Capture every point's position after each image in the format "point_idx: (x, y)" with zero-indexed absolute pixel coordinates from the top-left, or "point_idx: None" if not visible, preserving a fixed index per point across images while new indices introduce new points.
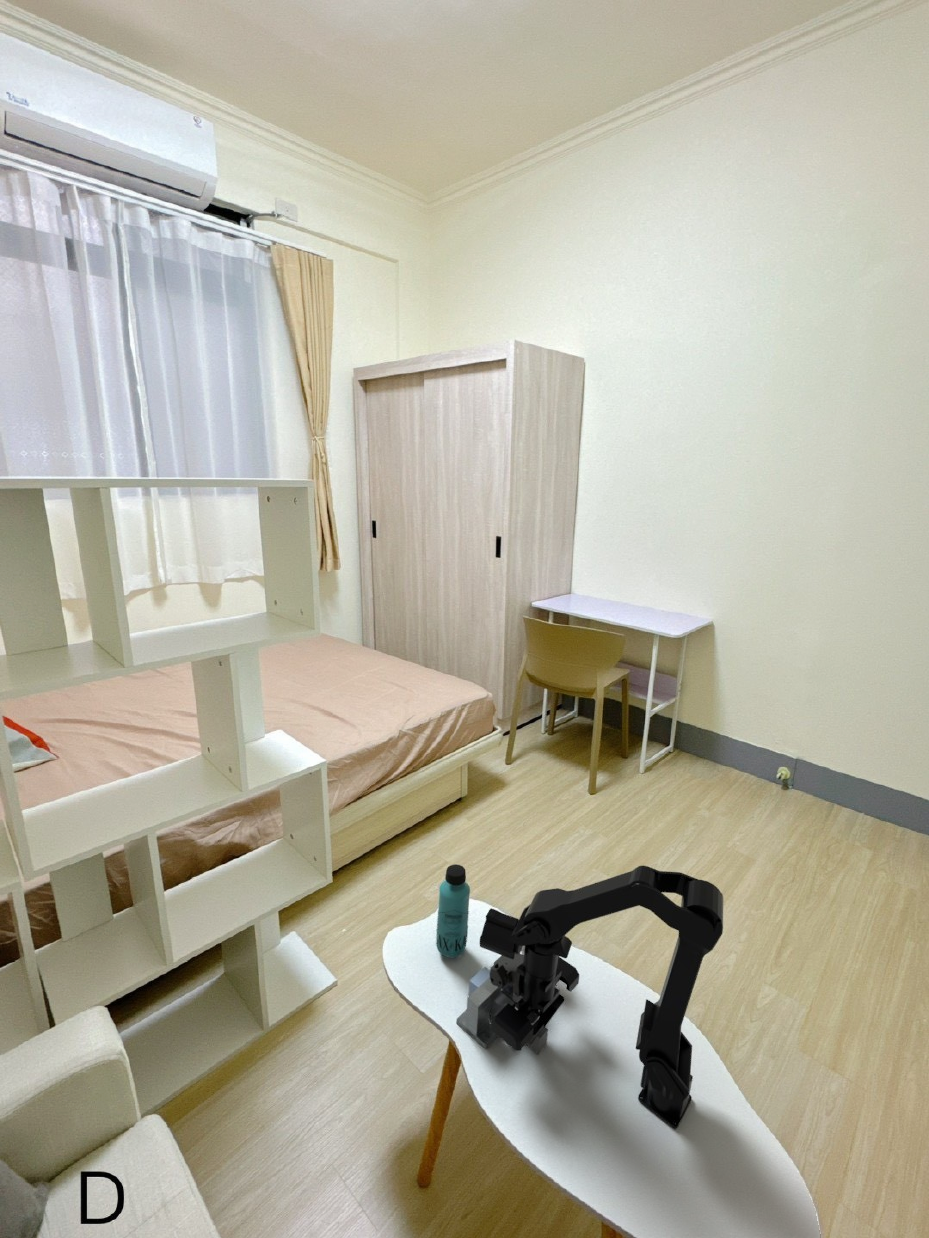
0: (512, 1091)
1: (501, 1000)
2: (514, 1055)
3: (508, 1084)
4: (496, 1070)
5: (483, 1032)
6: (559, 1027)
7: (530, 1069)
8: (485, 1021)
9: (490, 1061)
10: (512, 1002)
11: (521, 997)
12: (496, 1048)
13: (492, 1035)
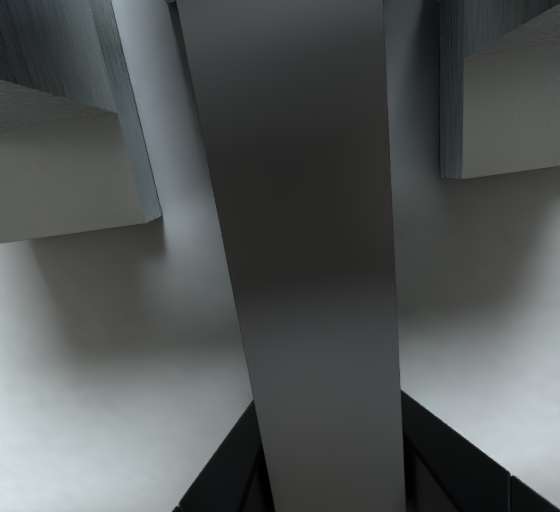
0: (41, 473)
1: (273, 45)
2: (167, 365)
3: (42, 444)
4: (21, 364)
5: (23, 152)
6: (517, 407)
7: (191, 458)
8: (11, 112)
9: (15, 308)
10: (371, 173)
11: (540, 105)
12: (95, 272)
13: (76, 219)
